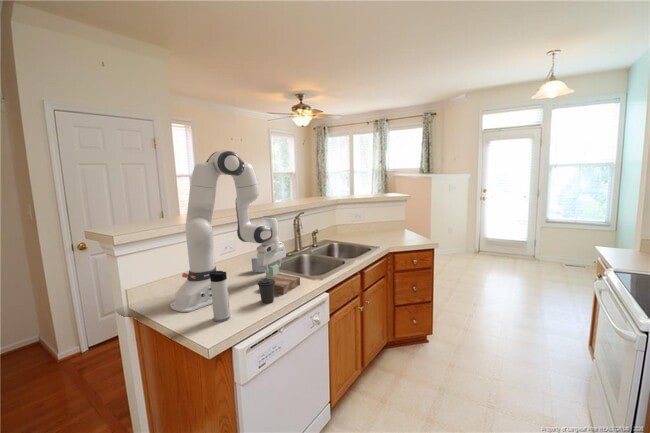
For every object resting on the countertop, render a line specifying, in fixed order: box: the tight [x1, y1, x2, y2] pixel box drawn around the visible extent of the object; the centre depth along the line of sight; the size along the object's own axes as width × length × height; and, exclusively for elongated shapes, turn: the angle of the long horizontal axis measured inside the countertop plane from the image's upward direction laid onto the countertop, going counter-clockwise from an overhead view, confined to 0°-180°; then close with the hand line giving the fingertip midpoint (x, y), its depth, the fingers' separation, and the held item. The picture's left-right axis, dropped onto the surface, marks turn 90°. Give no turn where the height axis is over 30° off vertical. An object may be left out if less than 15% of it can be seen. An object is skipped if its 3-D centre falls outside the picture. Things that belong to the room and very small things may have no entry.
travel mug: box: [209, 270, 231, 323], centre depth 120 cm, size 6×7×20 cm
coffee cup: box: [257, 278, 276, 305], centre depth 135 cm, size 8×8×10 cm
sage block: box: [265, 263, 280, 279], centre depth 166 cm, size 5×5×7 cm
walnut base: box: [268, 272, 301, 296], centre depth 152 cm, size 14×14×4 cm
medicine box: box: [251, 256, 266, 273], centre depth 177 cm, size 8×4×9 cm, turn 84°
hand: (273, 269), depth 166 cm, fingers open, 8 cm apart
